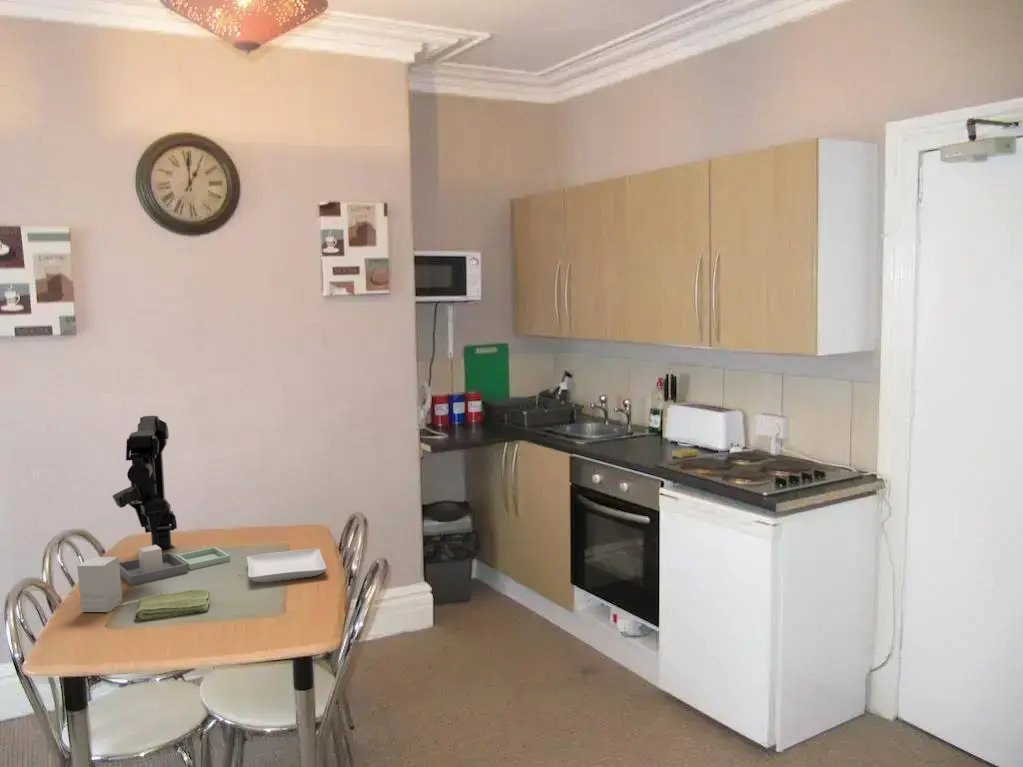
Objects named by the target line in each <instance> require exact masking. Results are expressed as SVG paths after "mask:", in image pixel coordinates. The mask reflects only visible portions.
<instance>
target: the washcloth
mask: <svg viewBox="0 0 1023 767" xmlns="http://www.w3.org/2000/svg"><path fill="white" fill-rule="evenodd" d="M210 592H211V591H210V590H208V589H191V590H182V591H177V592H172V593H159V594H158V593H157V594H154V595H153V594H151V595H150V594H149V595H146V596H144V597H141V598H140V599H138V602H137V609H136V611H135V613H134V619H135V620H136V621H140V622H141V621H142V622H143V621H149V619H150V620H157V619H158V618H159V619H162V618H161V617H166V618H170V617H169V616H172V617H175V616H174V615H178V616H183V615H182V614H185V615H188V614H187V613H191V614H195V613H194V612H200V613H203V612H202V611H206V612H207V611H208V607H209V604H210V601H211V600H210V595H211V594H210Z"/></svg>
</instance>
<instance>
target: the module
mask: <svg viewBox="0 0 1023 767" xmlns="http://www.w3.org/2000/svg"><path fill="white" fill-rule="evenodd" d="M137 550H138V552H137V553H138V559H139V566H140V572H141V573H146V572H151V571H155V570H160V569H163V562H162V554H163V552H162V551H163V550H162V549H161V548H160V547H159V546H157V545H152V544H151V545H148V546H142V547H138V548H137Z"/></svg>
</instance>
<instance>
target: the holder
mask: <svg viewBox="0 0 1023 767" xmlns="http://www.w3.org/2000/svg"><path fill="white" fill-rule="evenodd" d="M175 556H176V557H178V558H179V559H181V560H182V561H183V562H185V563H186V564H187V565H188V571H192V570H196V569H200V568H205V567H209V566H215V565H219V564H223V563H229V564H231V563H232V562H231V554H228V553H227V552H225V551H223V550H222V549H220V548H218V547H216V546H213V547H208V548H207V547H206V548H203V549H199V550H194V551H193V550H192V551H189V552H184V553H179V554H175ZM230 562H231V563H230Z"/></svg>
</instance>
